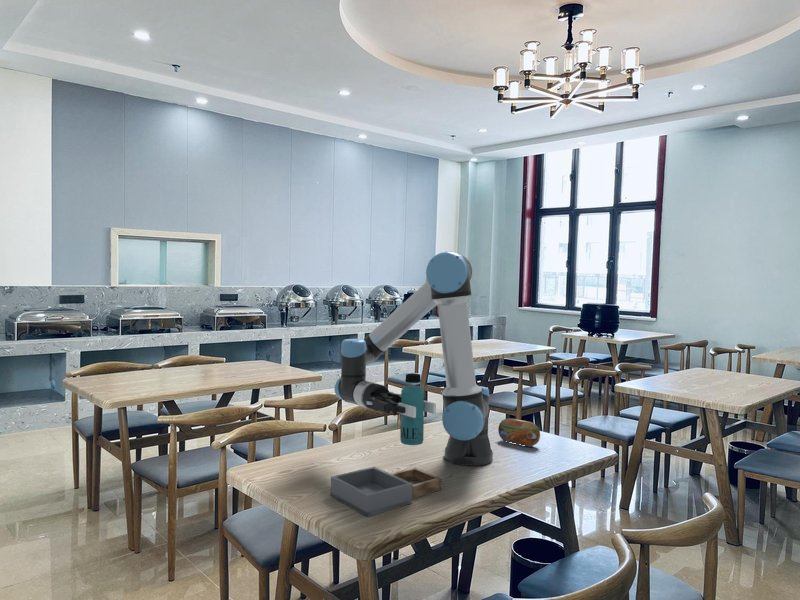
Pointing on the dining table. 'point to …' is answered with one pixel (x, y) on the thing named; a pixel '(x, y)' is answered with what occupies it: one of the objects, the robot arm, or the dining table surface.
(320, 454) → the dining table surface
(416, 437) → the beverage bottle
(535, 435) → the tin
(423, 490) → the box
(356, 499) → the tub
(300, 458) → the dining table surface
